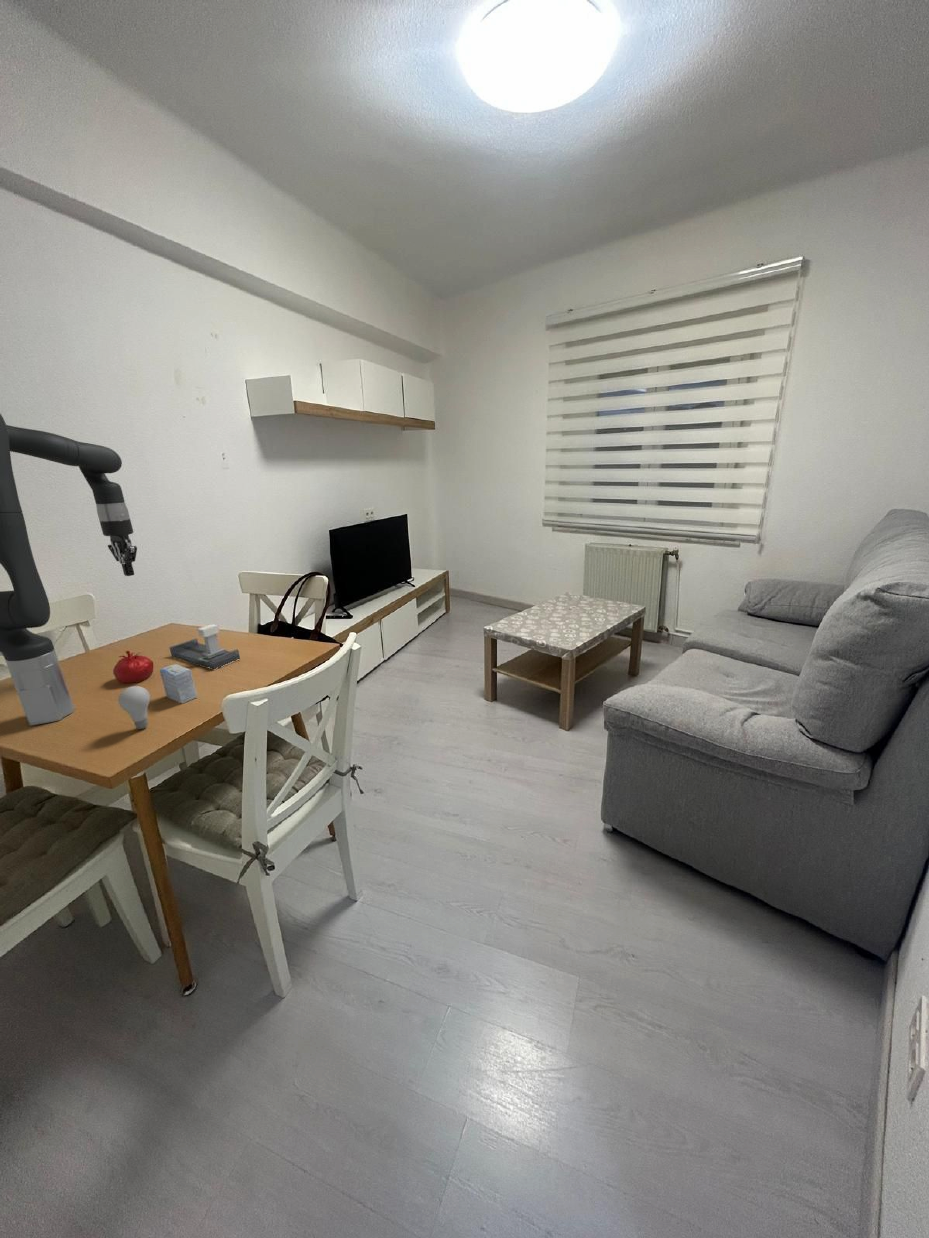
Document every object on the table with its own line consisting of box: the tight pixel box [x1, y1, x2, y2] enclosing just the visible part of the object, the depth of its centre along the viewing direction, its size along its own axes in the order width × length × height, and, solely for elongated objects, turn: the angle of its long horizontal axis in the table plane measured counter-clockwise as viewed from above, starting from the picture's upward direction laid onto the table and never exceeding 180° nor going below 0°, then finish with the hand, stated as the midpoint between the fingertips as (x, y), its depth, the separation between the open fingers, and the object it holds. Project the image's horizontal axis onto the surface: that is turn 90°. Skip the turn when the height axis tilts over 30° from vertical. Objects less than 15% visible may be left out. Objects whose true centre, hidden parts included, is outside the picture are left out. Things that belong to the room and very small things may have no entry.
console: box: [168, 638, 241, 670], centre depth 154 cm, size 24×9×4 cm, turn 60°
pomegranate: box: [112, 650, 155, 684], centre depth 139 cm, size 10×10×9 cm
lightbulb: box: [118, 685, 151, 730], centre depth 111 cm, size 6×6×11 cm
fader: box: [197, 623, 227, 659], centre depth 149 cm, size 4×6×9 cm, turn 150°
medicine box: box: [159, 663, 198, 704], centre depth 126 cm, size 8×4×9 cm, turn 58°
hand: (129, 575), depth 144 cm, fingers closed
